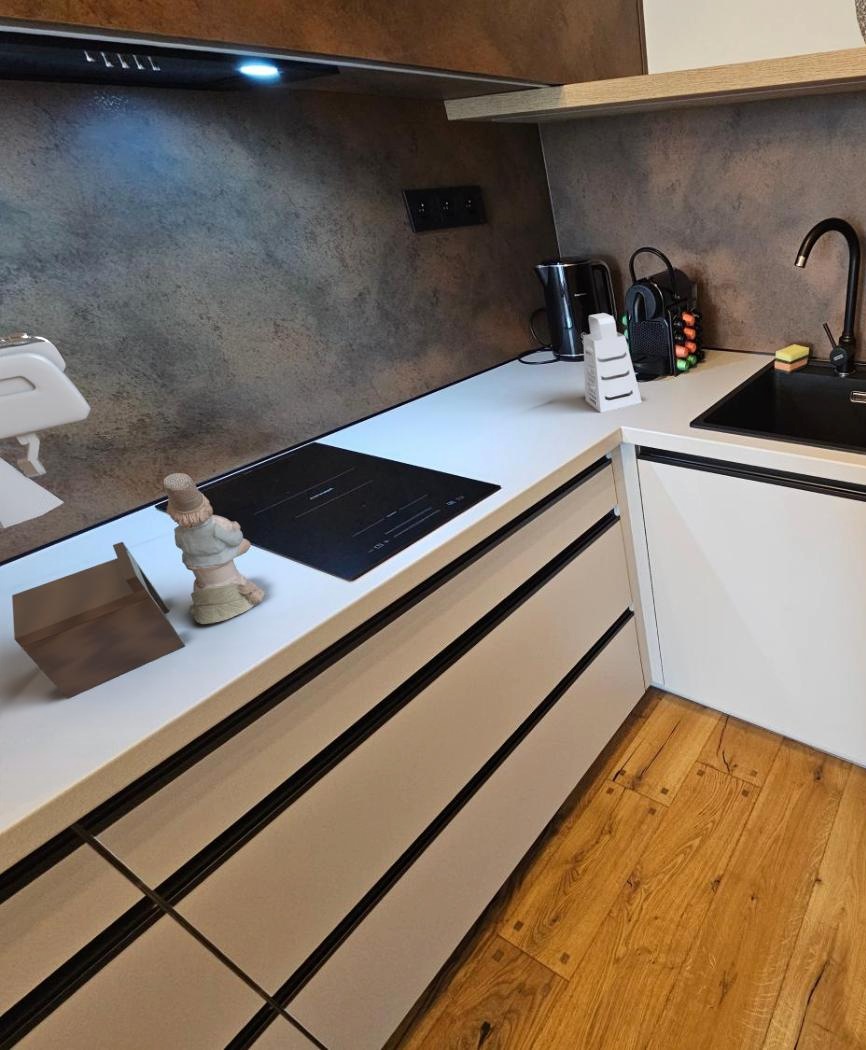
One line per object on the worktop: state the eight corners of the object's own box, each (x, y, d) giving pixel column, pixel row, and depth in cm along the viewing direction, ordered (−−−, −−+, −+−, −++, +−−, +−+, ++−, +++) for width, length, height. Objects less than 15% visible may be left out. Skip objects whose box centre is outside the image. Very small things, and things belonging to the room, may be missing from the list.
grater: (600, 412, 135) (586, 323, 125) (585, 400, 143) (571, 316, 133) (642, 402, 139) (631, 315, 129) (625, 391, 147) (614, 308, 137)
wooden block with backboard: (67, 699, 66) (2, 626, 60) (60, 651, 73) (1, 582, 68) (185, 646, 73) (136, 576, 67) (167, 607, 80) (122, 541, 74)
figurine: (261, 615, 77) (182, 480, 67) (187, 632, 75) (93, 495, 64) (279, 578, 84) (210, 451, 74) (211, 593, 82) (131, 464, 72)
